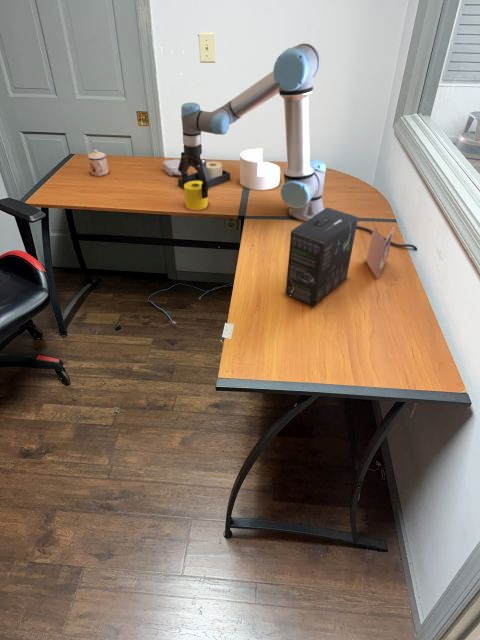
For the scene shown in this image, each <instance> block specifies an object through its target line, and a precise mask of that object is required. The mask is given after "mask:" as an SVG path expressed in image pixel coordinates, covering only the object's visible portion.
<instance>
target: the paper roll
mask: <svg viewBox="0 0 480 640" xmlns="http://www.w3.org/2000/svg"><path fill="white" fill-rule="evenodd" d="M206 166H207V169H208V172H209V175H210V178H211V179H213V178H216V177H219V176H222V170H223V163H222V162H220V161H206Z"/></svg>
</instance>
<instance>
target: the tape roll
mask: <svg viewBox="0 0 480 640" xmlns="http://www.w3.org/2000/svg"><path fill="white" fill-rule="evenodd" d="M201 184H202V181H190V182H187V183H185V184H184V189H183V190H184V203H185V208H187V209H188V210H191V211H201V210H204V209H206V208H207V207H208V205H209V203H208V197H206V198H204V199H203V198H202V186H201Z"/></svg>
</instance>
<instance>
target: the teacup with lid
mask: <svg viewBox="0 0 480 640" xmlns="http://www.w3.org/2000/svg"><path fill="white" fill-rule="evenodd" d="M87 159H88V162H89V166H90V172H91V175H93V176H96V177H100V176H101V177H102V176H106V175H107V174H108V173H109V166H108V161H107V155H106V153H104V152H101V151H98V149H93V151H92V152H91V153H89V154H88V155H87Z"/></svg>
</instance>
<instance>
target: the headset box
mask: <svg viewBox="0 0 480 640" xmlns="http://www.w3.org/2000/svg"><path fill="white" fill-rule="evenodd" d="M358 221H359V217H358V216H356V215H354V214H350V213H347V212H343V211H341V210H338V209H334V208H332V207H325V208H324V210H323V211H321V212H319V213H318V214H316V215H315V216H313V217H312V218H310V219H309V220H307V221H303V222H302V223H301V224H299V225H298V226H296V227H295V228H293V229H291V231H290V240H289V241H290V242H289V251H288V262H287V274H286V285H285V295H286V296H288V297H289V298H292V299H293V300H295V301H297V302H300V303H301V304H304V305H306V306H308V307H310V308H315V307H316V306H317V305H318V304H319V303H321V301H322V300H324V299H325V298H326V297H327V296H328V295H330V293H332V292H333V291H334V290H336V289H337V288H338V287H339V286H340V285H341V284H342V283H344V282H345V281H346V280H347V279H348V274H349V269H350V263H351V258H352V253H353V246H354V242H355V238H356V237H355V236H356V232H357V226H358ZM290 295H291V296H290Z"/></svg>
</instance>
